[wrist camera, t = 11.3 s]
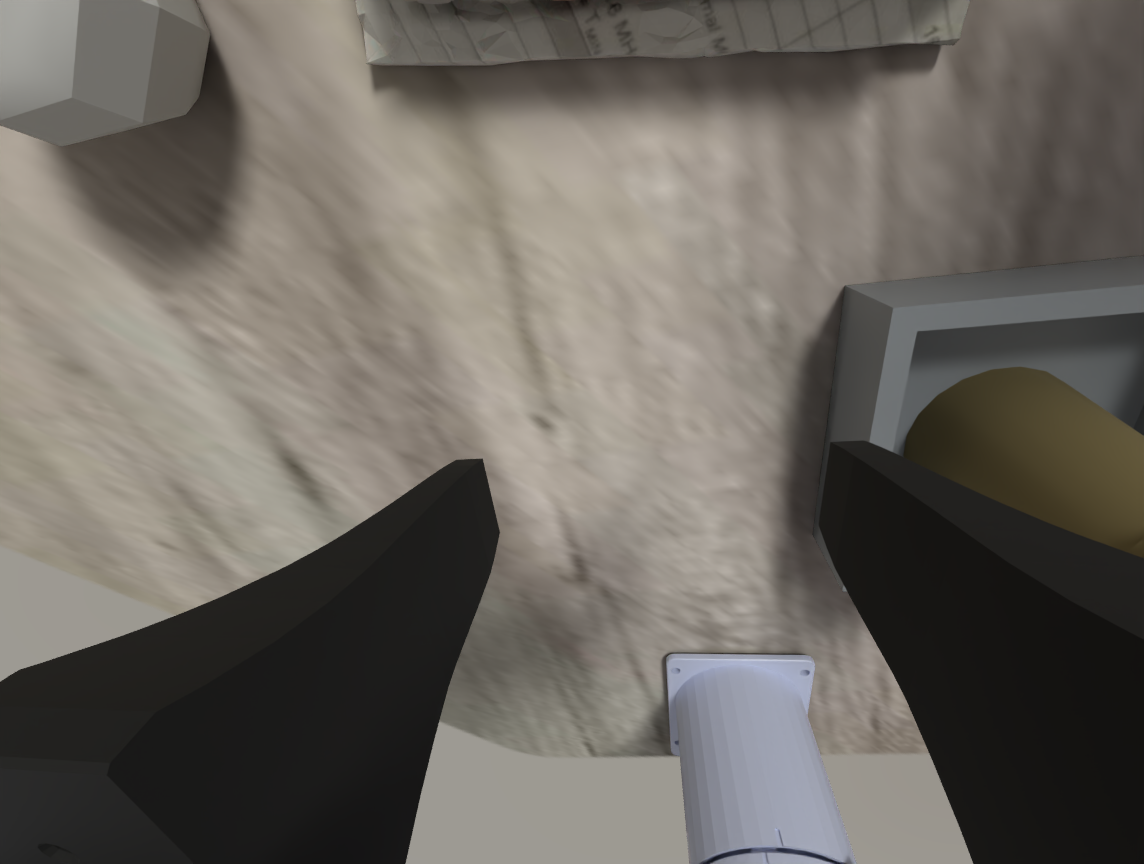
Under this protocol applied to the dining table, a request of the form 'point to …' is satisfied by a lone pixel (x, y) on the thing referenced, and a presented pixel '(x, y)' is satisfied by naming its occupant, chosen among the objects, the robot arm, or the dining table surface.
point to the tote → (983, 344)
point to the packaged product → (641, 28)
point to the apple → (98, 65)
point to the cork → (1037, 452)
